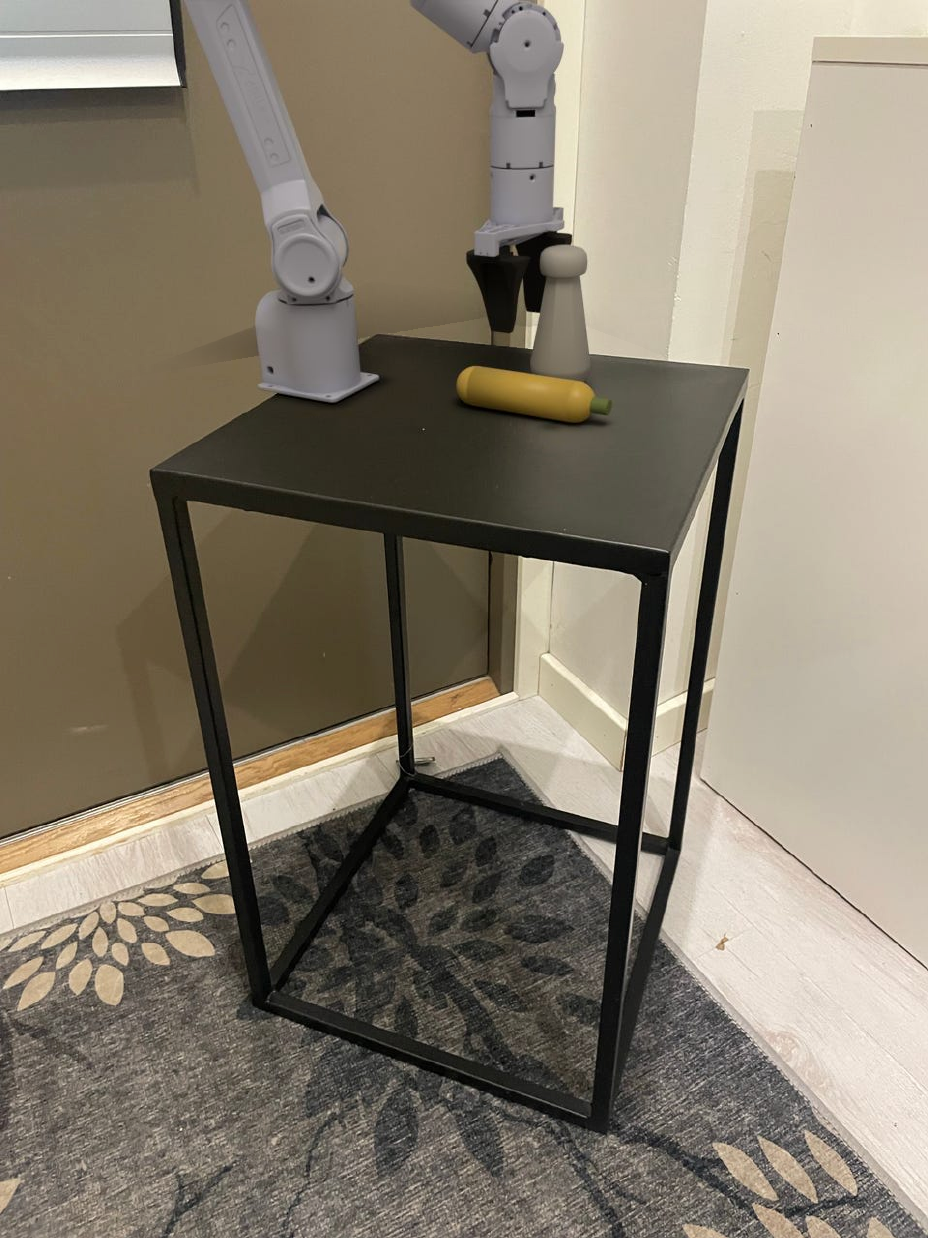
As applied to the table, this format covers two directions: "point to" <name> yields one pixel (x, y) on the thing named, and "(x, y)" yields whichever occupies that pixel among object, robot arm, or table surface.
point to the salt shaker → (562, 317)
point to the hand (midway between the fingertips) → (520, 321)
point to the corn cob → (530, 394)
